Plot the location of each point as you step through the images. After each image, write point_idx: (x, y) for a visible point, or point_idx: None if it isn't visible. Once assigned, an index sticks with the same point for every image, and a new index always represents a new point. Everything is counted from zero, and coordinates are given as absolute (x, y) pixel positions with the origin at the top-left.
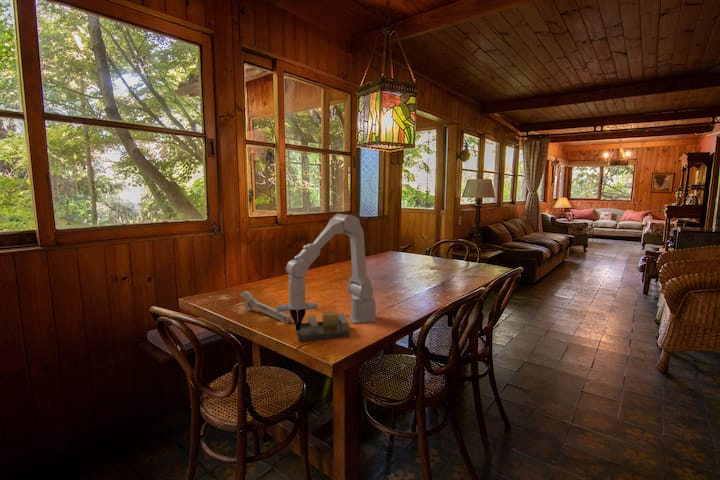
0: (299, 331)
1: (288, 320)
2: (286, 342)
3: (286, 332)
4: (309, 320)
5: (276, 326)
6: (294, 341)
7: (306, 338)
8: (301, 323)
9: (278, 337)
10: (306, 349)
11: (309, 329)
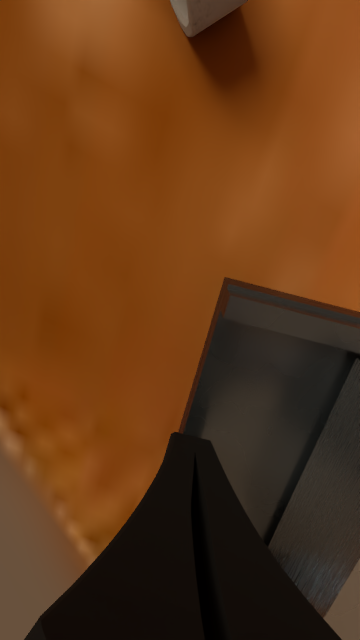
0: None
1: (195, 27)
2: (61, 502)
3: (102, 324)
4: (354, 553)
5: (26, 90)
6: (122, 511)
7: None
8: (290, 325)
9: (13, 396)
10: None
11: (309, 444)
